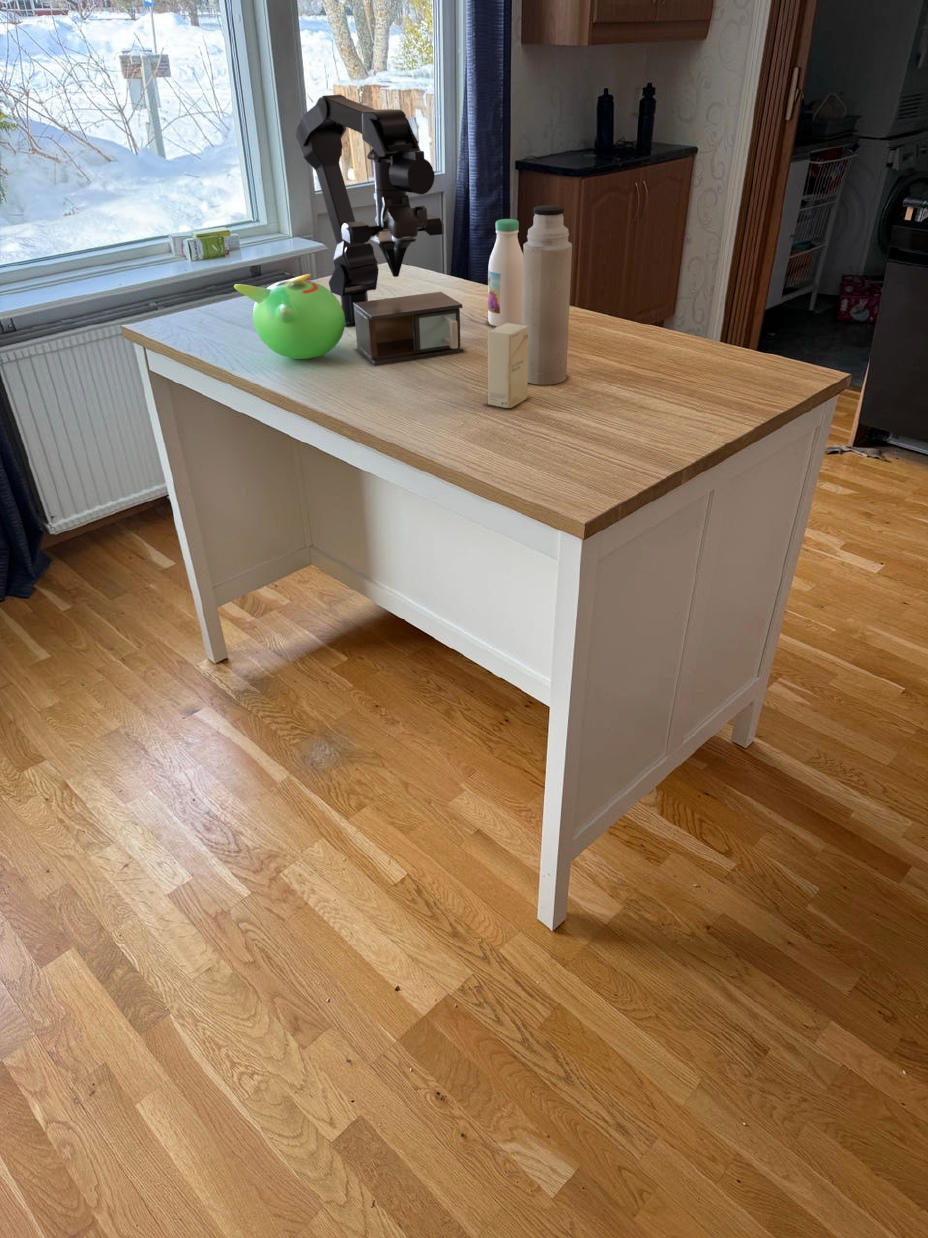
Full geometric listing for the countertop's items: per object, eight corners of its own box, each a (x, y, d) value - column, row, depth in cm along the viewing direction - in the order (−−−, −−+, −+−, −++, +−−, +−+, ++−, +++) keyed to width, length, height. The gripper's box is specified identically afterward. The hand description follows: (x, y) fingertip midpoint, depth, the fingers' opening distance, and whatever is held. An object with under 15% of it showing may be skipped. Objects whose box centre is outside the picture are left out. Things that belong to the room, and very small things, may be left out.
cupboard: (357, 350, 175) (353, 302, 170) (442, 337, 180) (441, 291, 175) (374, 365, 167) (371, 316, 162) (463, 352, 172) (462, 304, 167)
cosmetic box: (510, 409, 146) (510, 334, 140) (486, 405, 148) (486, 331, 142) (528, 397, 151) (529, 324, 144) (505, 393, 153) (505, 321, 146)
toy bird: (365, 355, 172) (358, 275, 164) (295, 377, 162) (284, 293, 154) (306, 337, 182) (297, 261, 174) (237, 357, 172) (224, 278, 164)
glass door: (415, 352, 170) (413, 314, 166) (459, 345, 173) (458, 308, 169) (426, 360, 165) (424, 322, 161) (471, 353, 168) (470, 315, 164)
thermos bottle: (528, 368, 164) (531, 201, 148) (570, 372, 161) (578, 203, 146) (516, 382, 157) (518, 209, 142) (560, 386, 155) (567, 211, 139)
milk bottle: (525, 317, 191) (527, 216, 180) (524, 328, 185) (525, 224, 174) (489, 317, 192) (489, 216, 181) (486, 327, 185) (486, 224, 174)
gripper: (355, 198, 156) (362, 291, 165) (453, 189, 162) (456, 279, 171) (337, 189, 165) (344, 278, 173) (431, 181, 171) (434, 267, 179)
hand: (395, 276), depth 174 cm, fingers closed
